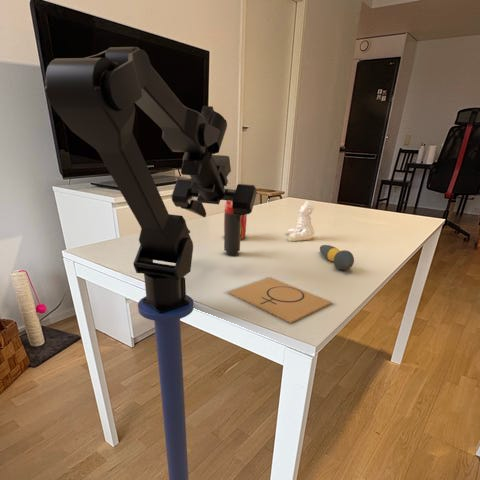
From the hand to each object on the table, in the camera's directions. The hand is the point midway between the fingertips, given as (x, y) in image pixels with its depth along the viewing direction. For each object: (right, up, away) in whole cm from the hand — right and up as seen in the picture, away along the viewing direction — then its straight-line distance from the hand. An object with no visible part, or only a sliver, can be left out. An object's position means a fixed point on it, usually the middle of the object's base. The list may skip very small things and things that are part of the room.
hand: (222, 217), depth 84 cm
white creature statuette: (+25, +2, +30) cm, 39 cm away
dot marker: (+2, -7, +12) cm, 14 cm away
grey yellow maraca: (+30, -10, +9) cm, 32 cm away
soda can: (+3, +1, +27) cm, 27 cm away
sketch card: (+13, -21, -13) cm, 27 cm away
